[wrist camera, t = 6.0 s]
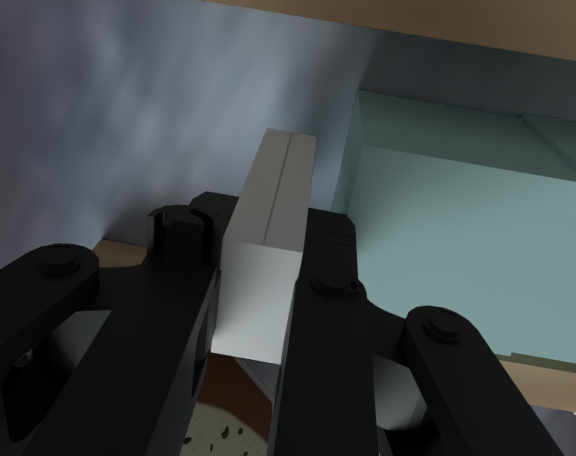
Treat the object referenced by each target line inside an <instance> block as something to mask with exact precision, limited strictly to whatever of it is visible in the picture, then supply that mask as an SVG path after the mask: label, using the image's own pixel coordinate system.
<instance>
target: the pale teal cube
mask: <svg viewBox="0 0 576 456" xmlns="http://www.w3.org/2000/svg"><path fill="white" fill-rule="evenodd" d="M522 119H523V120H524V121H525V122H526V123H527V124H528V125H529V126H530V127H531V128H533V129H534V130H535V131H536V132H537V133H538V134H539V135H540V136H541V137H542V138H543V139H544V140H545V141H546V142H547V143H548V144H549V145H550V146H551V147H552V148H553V149H554V150H555V151H556V152H557V153H559V154H560V155H561V156H562V157H563V158H564V159H565V160H566V161H567V162H568V163H569V164H570V165H571V166H572V167H573V168H574V169H575V170H576V122H572V121H566V120H560V119H554V118H549V117H543V116H537V115H531V114H525V113H523V116H522ZM512 352H514V353H519V354H525V355H531V356H536V357H542V358H548V359H553V360H559V361H565V362H570V363H576V217H575V219H574V221H573V223H572V225H571V228H570V230H569V232H568V234H567V236H566V238H565V240H564V242H563V244H562V247H561V249H560V251H559V253H558V255H557V257H556V259H555V261H554V264H553V266H552V268H551V270H550V272H549V274H548V276H547V278H546V281H545V283H544V285H543V287H542V289H541V291H540V293H539V295H538V297H537V300H536V302H535V304H534V306H533V308H532V310H531V312H530V314H529V317H528V319H527V321H526V323H525V325H524V327H523V329H522V331H521V334H520V336H519V338H518V340H517V342H516V344H515V346H514V348H513V350H512Z"/></svg>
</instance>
